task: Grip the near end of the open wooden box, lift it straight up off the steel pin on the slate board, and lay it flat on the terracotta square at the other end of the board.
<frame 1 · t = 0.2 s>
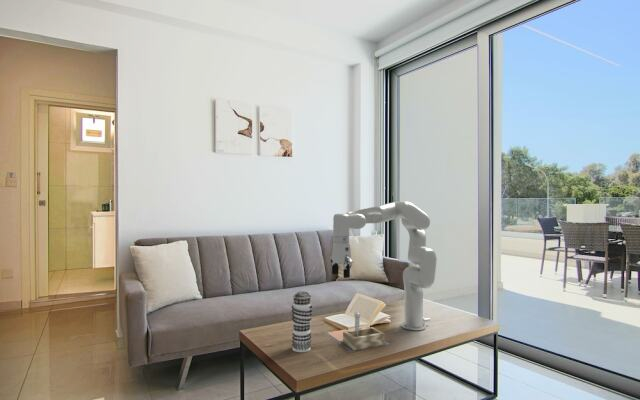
hand: (340, 275, 185), 31 cm above the table, tool pointing down, fingers open, 9 cm apart
open wooden box: (363, 343, 178), point 1 cm above the table, touching pin stand
decorative candle: (301, 348, 175), on the table
pin stand: (355, 340, 185), on the table
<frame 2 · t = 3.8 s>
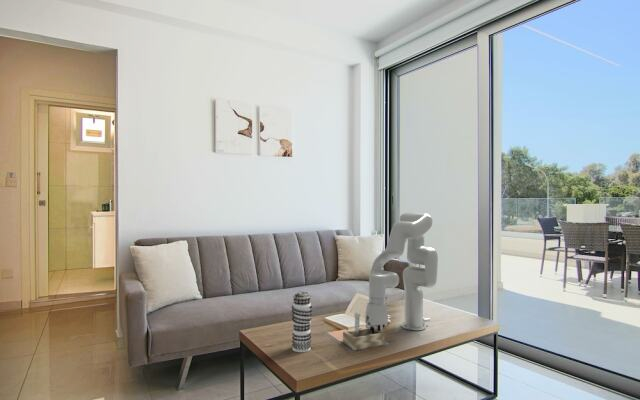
hand: (376, 339, 182), 2 cm above the table, tool pointing down, fingers closed on open wooden box
open wooden box: (363, 343, 179), point 1 cm above the table, touching gripper
everything else where it was.
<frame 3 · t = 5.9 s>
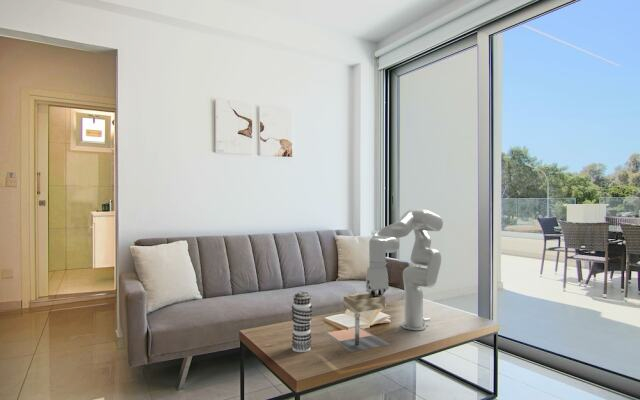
hand: (377, 303, 182), 18 cm above the table, tool pointing down, fingers closed on open wooden box
open wooden box: (364, 307, 179), point 17 cm above the table, touching gripper
everything else where it was.
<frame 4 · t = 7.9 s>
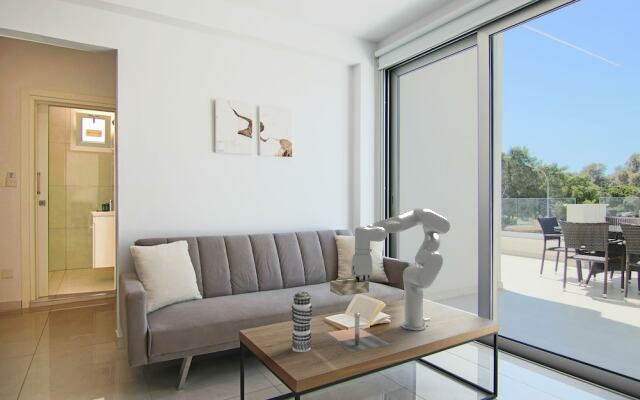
hand: (362, 288, 193), 23 cm above the table, tool pointing down, fingers closed on open wooden box
open wooden box: (349, 291, 190), point 22 cm above the table, touching gripper
everything else where it was.
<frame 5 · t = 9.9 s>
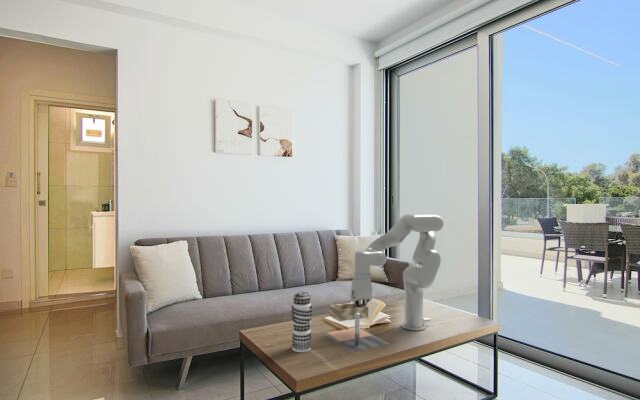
hand: (361, 312, 193), 11 cm above the table, tool pointing down, fingers closed on open wooden box
open wooden box: (348, 316, 190), point 10 cm above the table, touching gripper
everything else where it was.
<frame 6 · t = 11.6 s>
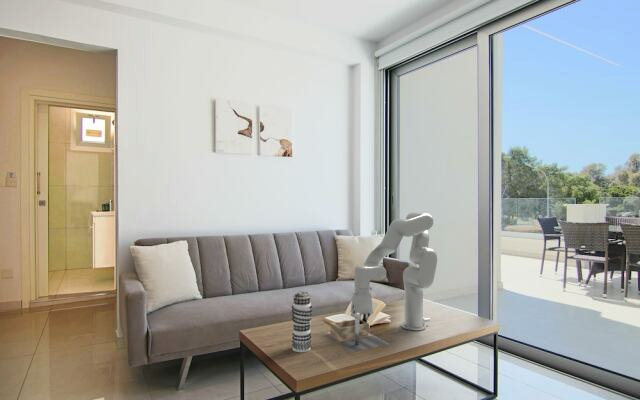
hand: (361, 327, 193), 3 cm above the table, tool pointing down, fingers closed
open wooden box: (349, 333, 190), point 1 cm above the table, touching pin stand
everything else where it was.
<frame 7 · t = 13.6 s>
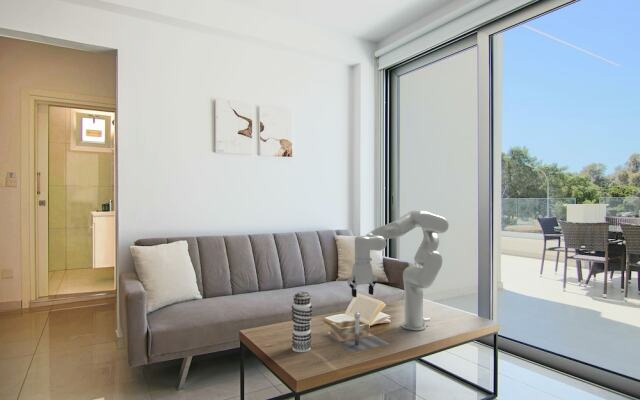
hand: (362, 295, 193), 19 cm above the table, tool pointing down, fingers open, 9 cm apart
nothing on the table moved.
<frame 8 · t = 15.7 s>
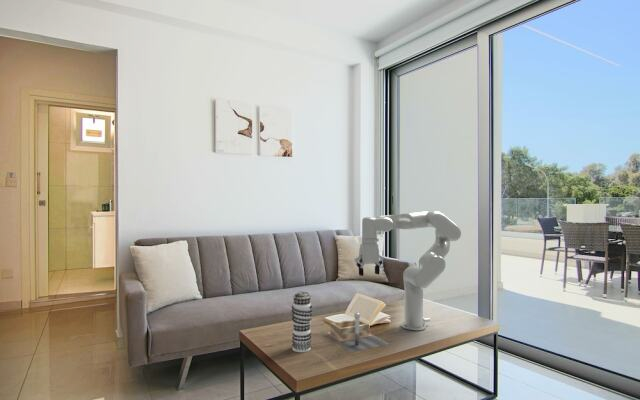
hand: (369, 274, 200), 28 cm above the table, tool pointing down, fingers open, 9 cm apart
nothing on the table moved.
at the end: open wooden box inside the target area (0.3 cm from its centre), point 1.2 cm above the table; open wooden box tilted 0°; the gripper is holding nothing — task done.
